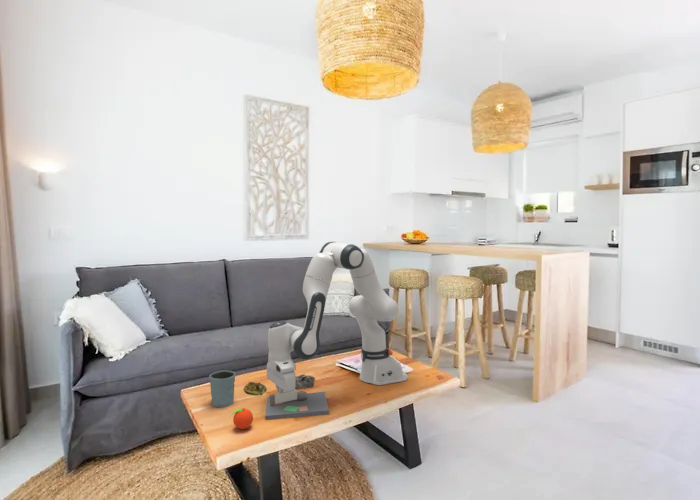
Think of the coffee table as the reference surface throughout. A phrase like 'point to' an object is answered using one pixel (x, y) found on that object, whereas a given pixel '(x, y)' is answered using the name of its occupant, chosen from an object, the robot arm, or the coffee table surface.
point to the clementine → (242, 418)
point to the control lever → (287, 396)
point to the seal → (255, 388)
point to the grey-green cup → (222, 388)
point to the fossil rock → (304, 382)
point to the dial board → (298, 407)
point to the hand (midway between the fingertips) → (280, 395)
